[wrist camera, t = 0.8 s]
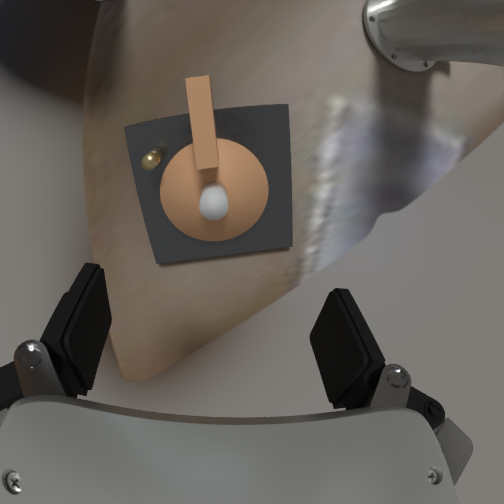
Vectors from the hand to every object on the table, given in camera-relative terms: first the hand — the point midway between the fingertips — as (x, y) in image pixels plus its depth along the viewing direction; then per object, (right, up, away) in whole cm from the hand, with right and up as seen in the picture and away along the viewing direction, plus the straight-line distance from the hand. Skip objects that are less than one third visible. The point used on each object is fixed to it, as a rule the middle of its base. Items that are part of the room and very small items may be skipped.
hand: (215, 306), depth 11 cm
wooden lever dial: (-3, +12, +18) cm, 22 cm away
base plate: (-3, +10, +22) cm, 24 cm away
